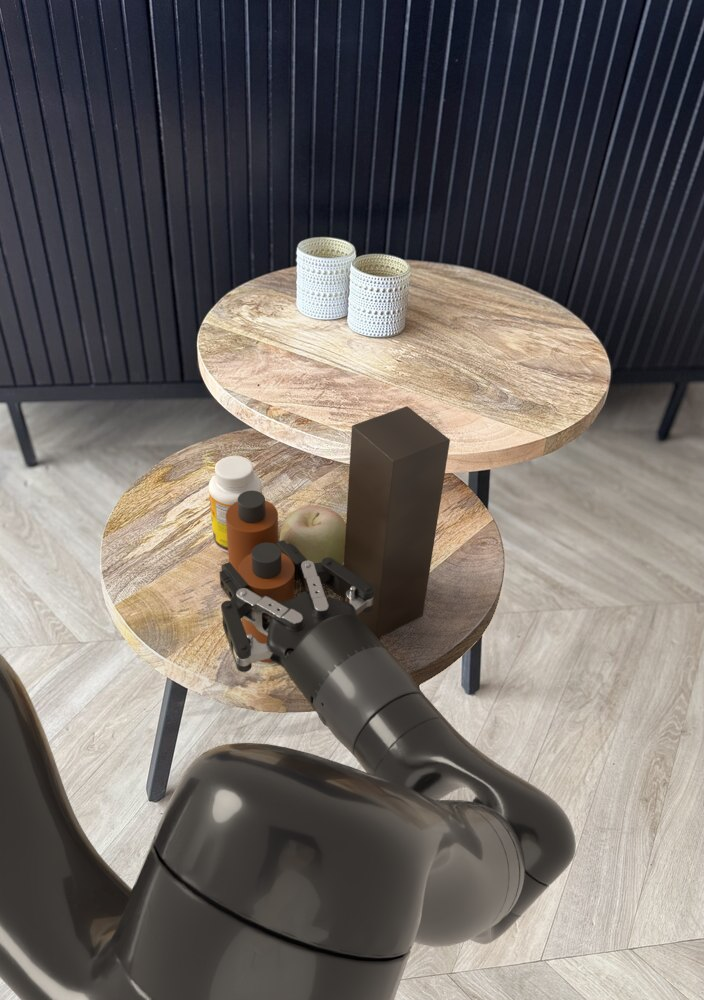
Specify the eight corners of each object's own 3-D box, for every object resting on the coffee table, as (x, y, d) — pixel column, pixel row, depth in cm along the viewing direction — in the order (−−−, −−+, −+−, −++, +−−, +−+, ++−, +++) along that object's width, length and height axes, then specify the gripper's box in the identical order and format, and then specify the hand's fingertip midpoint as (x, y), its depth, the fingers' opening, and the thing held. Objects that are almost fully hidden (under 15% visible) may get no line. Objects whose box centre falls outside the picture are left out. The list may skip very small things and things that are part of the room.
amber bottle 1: (245, 611, 81) (240, 522, 74) (222, 581, 84) (215, 493, 77) (287, 592, 84) (287, 504, 76) (263, 564, 87) (261, 476, 79)
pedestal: (375, 639, 79) (393, 461, 65) (341, 601, 83) (351, 425, 69) (423, 615, 82) (450, 439, 68) (388, 579, 86) (407, 405, 72)
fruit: (360, 578, 86) (364, 521, 81) (297, 599, 83) (297, 542, 78) (329, 534, 91) (331, 478, 86) (268, 552, 88) (267, 496, 83)
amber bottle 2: (258, 670, 76) (254, 580, 68) (234, 635, 79) (227, 545, 71) (304, 648, 78) (305, 559, 70) (278, 615, 81) (277, 526, 74)
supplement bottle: (227, 518, 92) (222, 445, 86) (271, 530, 91) (270, 458, 84) (204, 548, 88) (197, 475, 82) (250, 562, 87) (246, 489, 80)
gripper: (432, 617, 65) (318, 501, 75) (278, 697, 58) (176, 557, 69) (422, 676, 70) (316, 559, 80) (279, 755, 63) (184, 617, 74)
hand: (252, 559), depth 74 cm, fingers closed on amber bottle 2, 5 cm apart
